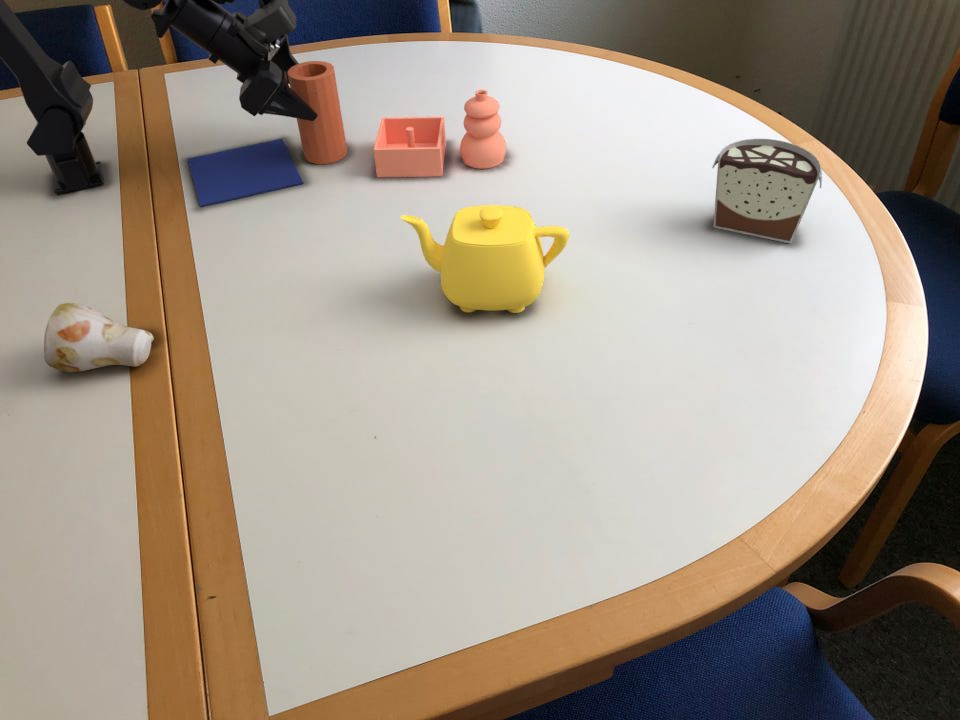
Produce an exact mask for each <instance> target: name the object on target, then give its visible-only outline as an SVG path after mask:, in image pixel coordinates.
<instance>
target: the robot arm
mask: <svg viewBox="0 0 960 720" xmlns="http://www.w3.org/2000/svg"><path fill="white" fill-rule="evenodd" d="M121 1H122V2H123V3H125V4H126V5H128V6H130V7H131V8H133V9H136V10H138V11H147V10H150V9H153V10H152V11H151V14H150V19H151V20H152V23H153V25H154V29H155V34H156V38H158V39H162V38H163V37H164V36H165V34H166V33H167V31H169V28H170V27H171V28H173V29H174V30H176V31H177V32H178V33H180V34H181V35H183V36H184V37H185V38H186V39H188V40H190V41H191V42H193V43H194V44H195V45H197V46H198V47H199V48H201V49H202V50H204V51H205V52H206V53H208V60H209V61H210V62H211V63H213V64H214V65H216V64H217V63H218V61H219V62H221V63H222V64H224V65H225V66H227V68H229V69H230V70H232V71H233V72H235V73H237V74H236V80H237V81H239V82H240V83H241V84H242V85H241V86H240V89H239V96H238V99H239V103H240V107H241V109H242V110H244V111H246V112H247V113H249V114H250V115H251V116H253V117H256V116H257V115H260V116H263V115H264V114H265V115H272V116H282V117H287V118H293V119H297V118H298V119H303V120H309V121H314V120H315V119H316V118H317V117H318V115H317V113H316V112H315V111H314V110H313V109H312V108H311V107H310V106H309V105H308V104H307V103H306V102H305V101H304V100H303V99H301V98H300V97H299V96H298V95H297V94H296V93H295V92H294V91H293V90H292V89H291V88H290V84H289V79H288V70H289V69H290V68H291V67H293V66H295V65H297V64H299V63H300V62H299V61H298V60H297V59H296V58H295V56H294V54H292V52H291V47H290V41H289V36H288V35H289V34H290V33H292V32H293V31H294V30H296V28H297V23H296V22H297V16H296V13H294V11H293V10H292V8H291V7H290V5H289V1H288V0H258V5H259V8H256V9H255V10H254V12H253V13H252V14H250V15H248V16H246V15H245V14H244V13H242V12H240V11H238V12H237V11H236V10H235V11H234V12H233V14H232V13H230V12H229V11H228V10H226V9H225V8H224V7H222V6H221V5H225V3H228V4H233V3H235V2H236V0H167V1H166V3H165V4H164V6H163V7H162V8H158V9H157V7H158V6H159V5H160V4H161V3H162V2H163V0H121ZM155 8H156V9H155ZM279 39H281V40H279ZM0 59H1V60H2V62H3V63H4V64H5V66H7V68H8V69H9V71H11V73H12V74H13V75H14V77H15V78H16V80H17V83H18V86H19V88H20V91H21V94H22V97H23V100H24V102H25V105H26V107H27V108H28V110H29V111H30V113H31V115H32V116H33V118H34V119H35V121H36V125H35V127H34V128H33V130H32V132H31V134H30V135H29V137H28V139H27V140H26V145H27V146H28V147H29V148H30V149H31V150H32V152H33V153H34V154H35V155H36V156H38V157H42V156H44V157H45V159H46V161H47V163H48V165H49V168H50V169H51V172H52V174H53V192H54V194H55V195H60V194H65V193H71V192H74V191H79V190H83V189H84V190H85V189H89V188H94V187H98V186H102V185H104V183H105V179H104V169H103V164H102V161H100V160H99V161H96V159H95V157H94V156H93V155H94V154H93V152H92V150H91V148H90V145H89V143H88V140H87V138H86V136H85V133H84V132H83V129H84V128H85V126H86V124H87V122H88V121H87V120H88V118H89V116H90V114H91V112H92V110H93V106H94V97H93V94H92V93H91V90H90V89H91V87H92V84H91V83H89V82H88V81H86V80H85V79H84V78H83V77H82V75H81V74H80V72H79V71H78V69H77V67H76V65H75V63H73V62H72V60H68V61H67V62H65V63H64V64H63V65H62V64H61V63H60V62H58V61H56V60H54V59H53V58H51V57H50V56H48V55H47V53H46V52H45V51H44V50H43V49H42V47H41V46H40V45H39V44H38V42H37V41H36V40H35V38H34V37H33V36H32V34H31V33H30V32H29V31H28V29H27V28H26V26H25V25H24V24H23V23H22V21H21V20H20V19H19V18H18V16H17V15H16V14H15V12H14V11H13V10H12V9H11V7H10V6H9V5H8V4H7V2H6V1H5V0H0Z"/></svg>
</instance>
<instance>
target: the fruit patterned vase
mask: <svg viewBox="0 0 960 720" xmlns="http://www.w3.org/2000/svg"><path fill="white" fill-rule="evenodd" d="M154 337H155V336H154V335H153V334H152V333H151V332H150V331H148V330H145V329H143V328H142V329H141V328H135V327H130V326H126V325H123V324H121V323H118V322H117V321H115V320H113V319H112V318H110V317H108V316H107V315H105V314H103V313H101V312H99V311H98V310H96V309H94V308H93V307H90V306H87V305H84V304H81V303H76V302H65V303H60V304H59V305H57V306H56V307H55V309H54V310H53V311H52V313H51V314H50V317H49V319H48V321H47V324H46V327H45V331H44V337H43V355H44V362H45V364H46V365H47V366H49V368H53V369H55V370H58V371H62V372H68V373H69V372H70V373H71V372H73V373H75V372H84V371H89V370H93V369H99V368H103V367H107V366H126V367H127V366H129V367H134V368H135V367H140V366H141V365H143V364H144V363H145V362H146V361H147V360H148V358H149V357H150V355H151V349H152V343H153V342H154V340H155V338H154Z"/></svg>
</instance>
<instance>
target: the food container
mask: <svg viewBox="0 0 960 720" xmlns="http://www.w3.org/2000/svg"><path fill="white" fill-rule="evenodd" d="M715 166H717V169H716V170H717V171H716V183H715V185H716V187H715V198H714V199H715V200H714V213H713V224H712V225H713V226H712V228H714V229H719V230H723V231H728V232H733V233H738V234H744V235H748V236H751V237H758V238H762V239H765V240H772V241H776V242H781V243H786V244H792V243H793V240H794V237H795V236H796V233H797V231H798V228H799V226H800V224H801V221H802V219H803V217H804V214H805V211H806V209H807V207H808V205H809V202H810V200H811V197H812V195H813V193H814V191H815V188H816V185H817V184H818V181H819V189H822V184H823V170H822V165H821V161H820V160H819V159H818V158H817V157H816V156H815V155H814V154H813V153H812V152H811V151H809V150H807V149H806V148H804V147H802V146H799V145H797V144H794V143H791V142H788V141H784V140H779V139H771V138H747V139H741V140H736V141H735V142H732V143H729V144H728V145H725V146H724V147H723V148H722V149H721V150H720V151H719V153H718V155H716V157H715V159H714V162H713V165H712V167H711V168H712V169H714V168H715Z"/></svg>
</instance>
